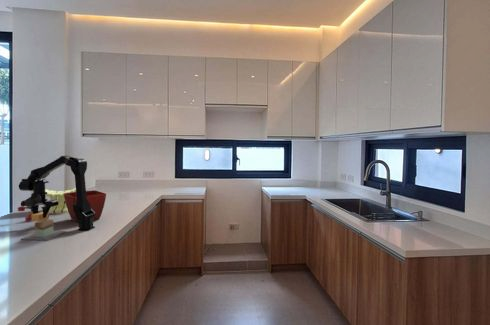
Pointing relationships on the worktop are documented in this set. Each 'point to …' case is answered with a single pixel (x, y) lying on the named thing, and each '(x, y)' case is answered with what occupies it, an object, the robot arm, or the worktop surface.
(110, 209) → the worktop surface
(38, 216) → the orange brick
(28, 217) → the toy fire truck
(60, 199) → the slatted curved stool
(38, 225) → the walnut brick
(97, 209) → the plant pot
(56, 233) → the baseplate
